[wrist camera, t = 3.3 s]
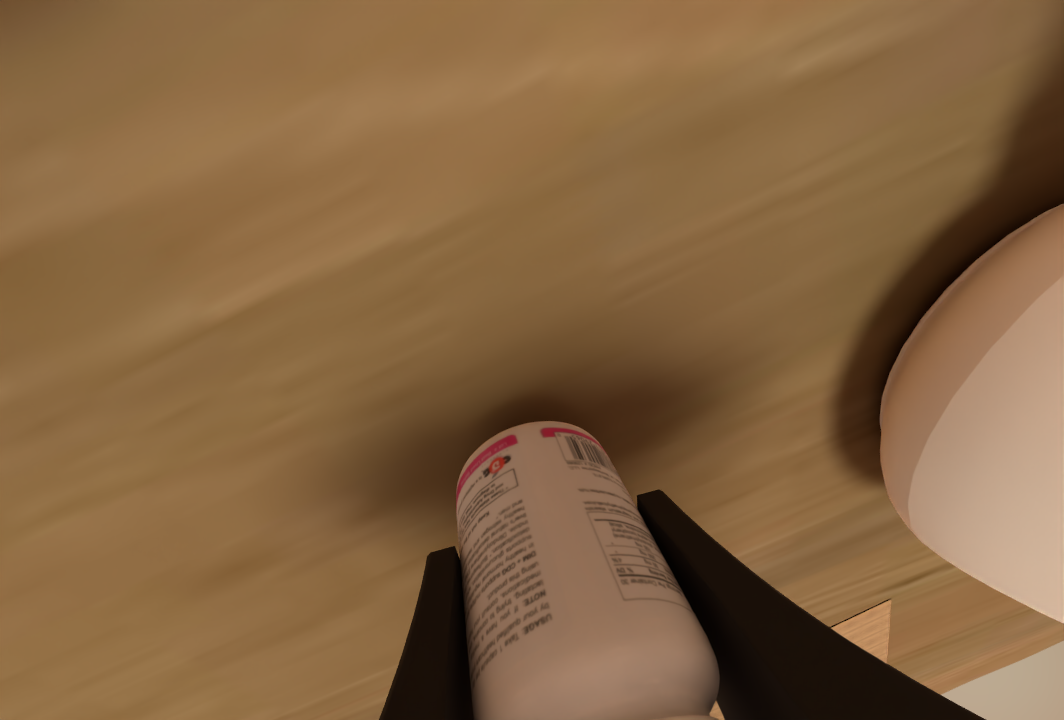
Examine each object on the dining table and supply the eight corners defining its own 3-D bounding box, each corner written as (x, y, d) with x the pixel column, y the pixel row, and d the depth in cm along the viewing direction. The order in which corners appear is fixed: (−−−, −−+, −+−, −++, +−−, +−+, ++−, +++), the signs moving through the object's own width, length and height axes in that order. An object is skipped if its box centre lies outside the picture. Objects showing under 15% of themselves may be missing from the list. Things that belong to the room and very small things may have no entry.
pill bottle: (475, 548, 14) (524, 993, 7) (435, 441, 12) (449, 955, 4) (610, 508, 15) (790, 884, 7) (600, 397, 12) (851, 797, 5)
